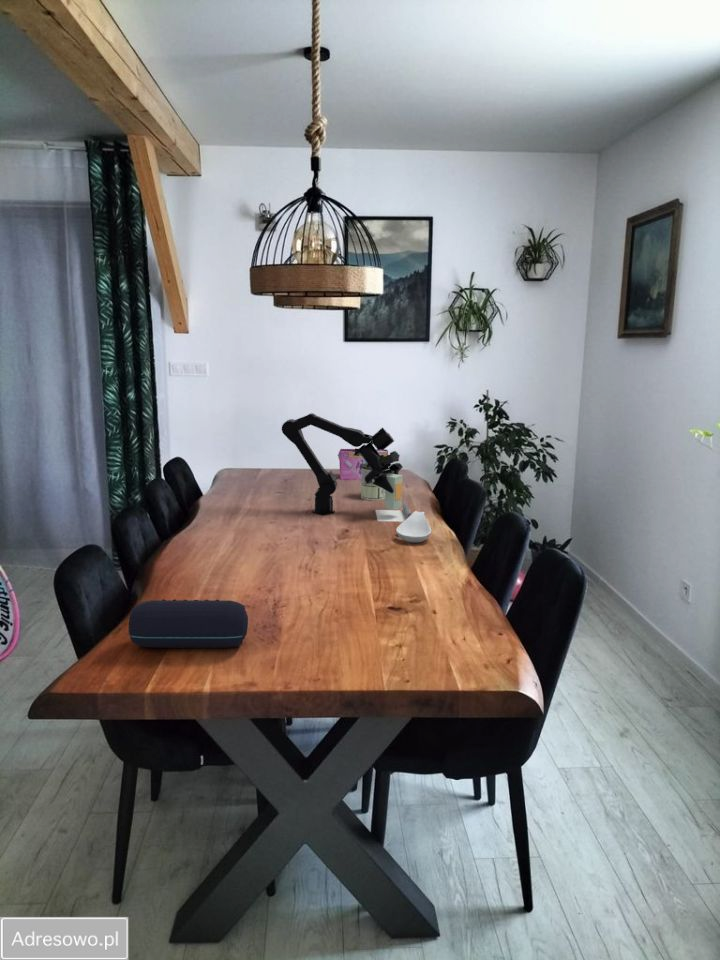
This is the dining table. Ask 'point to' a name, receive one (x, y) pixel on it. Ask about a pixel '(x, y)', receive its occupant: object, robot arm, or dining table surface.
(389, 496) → the green carton
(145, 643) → the portable speaker
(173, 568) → the dining table surface
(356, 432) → the robot arm
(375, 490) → the coffee can
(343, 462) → the pink printed box
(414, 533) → the spoon rest
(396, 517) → the white plate with rail
